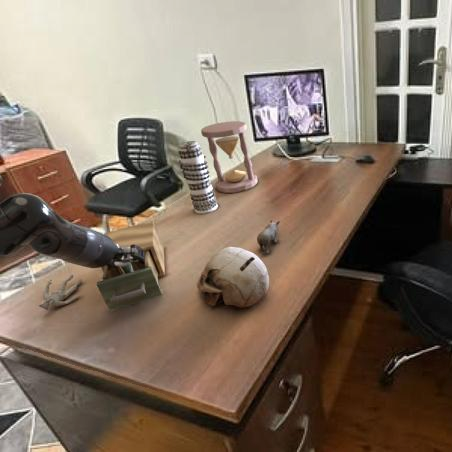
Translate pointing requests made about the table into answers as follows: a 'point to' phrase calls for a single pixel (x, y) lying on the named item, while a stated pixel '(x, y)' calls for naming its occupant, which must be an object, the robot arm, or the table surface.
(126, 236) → the cabinet
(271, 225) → the rhino figurine
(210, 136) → the hourglass
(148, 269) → the drawer
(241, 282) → the coin bank
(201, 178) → the leaning tower model
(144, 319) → the table surface
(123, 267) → the milkshake
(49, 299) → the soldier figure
